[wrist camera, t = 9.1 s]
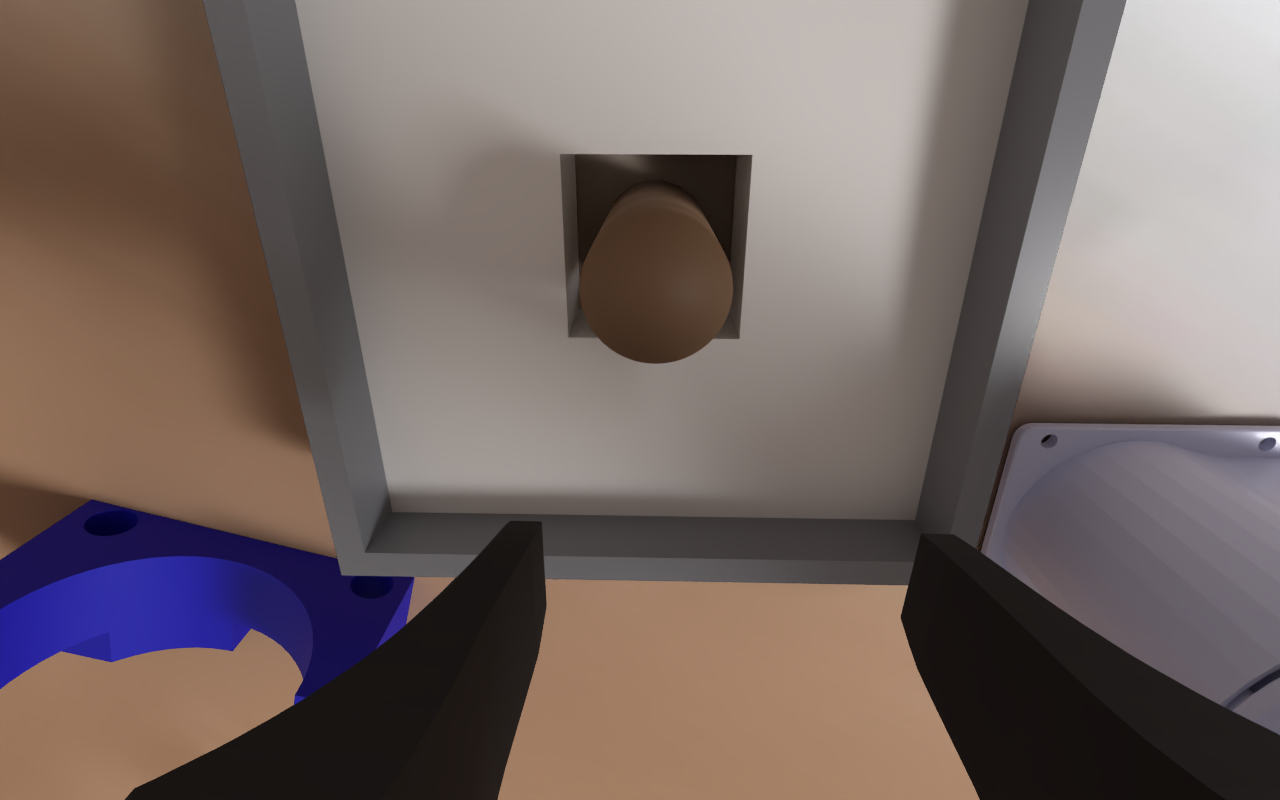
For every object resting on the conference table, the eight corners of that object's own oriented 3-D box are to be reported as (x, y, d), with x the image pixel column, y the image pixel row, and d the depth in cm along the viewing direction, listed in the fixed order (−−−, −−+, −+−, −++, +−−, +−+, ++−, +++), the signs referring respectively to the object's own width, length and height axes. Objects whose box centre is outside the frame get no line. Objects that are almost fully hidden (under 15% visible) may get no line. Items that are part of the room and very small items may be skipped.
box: (1030, -145, 15) (1198, -265, 10) (901, 489, 22) (966, 586, 17) (297, -140, 15) (140, -256, 10) (406, 482, 22) (341, 575, 18)
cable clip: (103, 587, 25) (-54, 718, 19) (95, 496, 23) (-80, 612, 18) (401, 656, 26) (332, 798, 20) (415, 574, 24) (345, 706, 19)
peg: (708, 180, 18) (738, 212, 11) (703, 283, 19) (727, 364, 13) (604, 179, 18) (576, 211, 12) (606, 283, 19) (582, 363, 13)
